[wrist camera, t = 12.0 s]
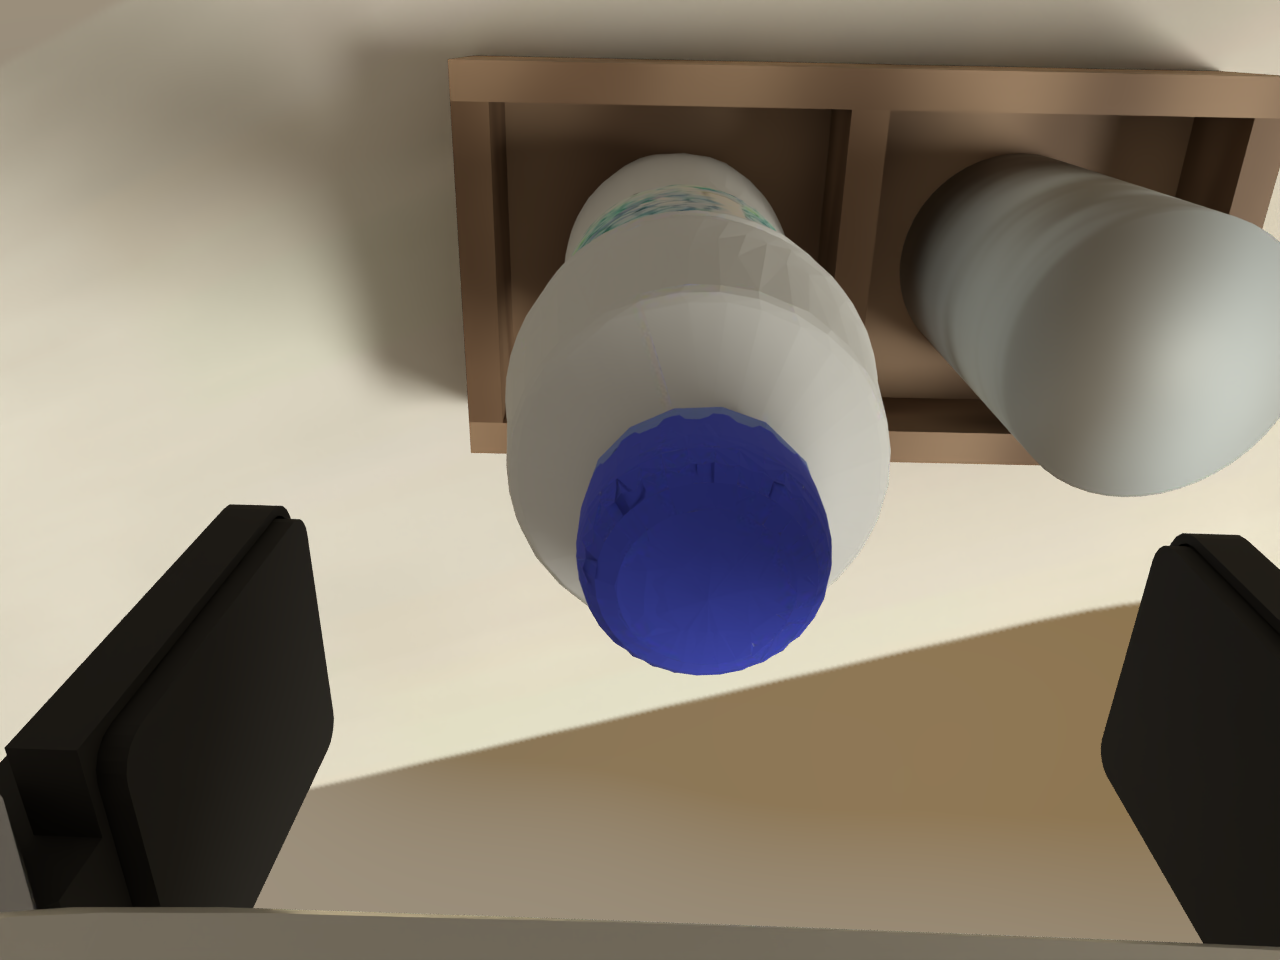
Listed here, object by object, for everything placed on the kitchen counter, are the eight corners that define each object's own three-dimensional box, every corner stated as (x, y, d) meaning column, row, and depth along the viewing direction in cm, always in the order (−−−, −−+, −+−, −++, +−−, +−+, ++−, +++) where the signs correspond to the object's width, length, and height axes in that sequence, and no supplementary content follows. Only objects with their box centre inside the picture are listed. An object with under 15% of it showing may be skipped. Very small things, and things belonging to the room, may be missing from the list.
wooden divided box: (1222, 71, 28) (1529, 93, 18) (1134, 420, 33) (1342, 588, 23) (473, 55, 29) (377, 69, 19) (490, 406, 33) (421, 568, 23)
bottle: (722, 388, 32) (818, 867, 14) (532, 303, 31) (361, 701, 12) (823, 196, 29) (1108, 472, 11) (619, 96, 28) (563, 218, 10)
